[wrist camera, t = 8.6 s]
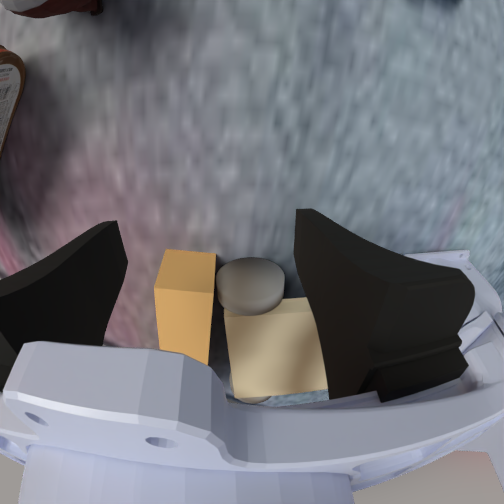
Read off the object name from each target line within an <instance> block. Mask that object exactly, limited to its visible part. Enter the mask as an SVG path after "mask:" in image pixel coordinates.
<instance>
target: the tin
mask: <svg viewBox="0 0 504 504" xmlns="http://www.w3.org/2000/svg"><path fill="white" fill-rule="evenodd" d="M24 82H25V66H24V63H23V61H22V59H21V58H20V57H19V56H18V55H16V54H15V53H13V52H11V51H9V50H7V49H6V48H5V47H4V46H2V45H0V158H1V154H2V150H3V147H4V143H5V140H6V137H7V133H8V130H9V127H10V124H11V121H12V118H13V116H14V113H15V110H16V107H17V105H18V102H19V100H20V97H21V94H22V91H23V87H24Z"/></svg>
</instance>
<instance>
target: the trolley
mask: <svg viewBox="0 0 504 504" xmlns="http://www.w3.org/2000/svg"><path fill="white" fill-rule="evenodd" d="M284 281H285V276H284V273H283V271H282V269H281V268H280V267H279V266H278V265H277V264H275V263H273V262H271V261H269V260H266V259H262V258H255V257H248V258H240V259H236V260H233V261H231V262H229V263H227V264H225V265H224V266H223V267H221V268H220V270H219V271H218V273H217V275H216V286H217V294H218V299H219V302H220V303H221V305H222V306H223V307H224V320H225V328H226V336H227V344H228V352H229V359H230V366H231V372H230V378H229V379H230V386H231V390H232V392H233V394H234V395H235V398H238V399H239V400H241V401H243V402H246V403H252V404H253V403H261V402H264V401H266V400H268V399H269V398H270V397H271V396H274V395H285V394H294V393H302V392H309V391H316V390H323V389H328V386H327V379H326V373H325V366H324V361H323V356H322V350H321V345H320V341H319V336H318V331H317V327H316V323H315V320H314V316H313V313H312V311H311V308H310V305H309V302H308V300H307V297H304V298H291V299H283V296H284Z"/></svg>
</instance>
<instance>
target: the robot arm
mask: <svg viewBox="0 0 504 504" xmlns="http://www.w3.org/2000/svg"><path fill="white" fill-rule="evenodd" d="M469 255H470V252H469V251H468V250H455V251H442V252H429V253H416V254H406V255H401V254H398V253H395V252H392V251H390V250H387V249H385V248H382V247H380V246H378V245H376V244H373V243H371V242H369V241H367V240H365V239H363V238H361V237H359V236H358V235H356V234H354V233H352V232H350V231H349V230H347V229H345V228H344V227H342V226H340V225H339V224H337V223H335V222H334V221H332V220H331V219H329V218H327V217H326V216H324V215H323V214H321V213H319V212H318V211H316V210H314V209H296V223H295V240H294V258H295V263H296V267H297V272H298V275H299V278H300V281H301V283H302V286H303V289H304V292H305V294H306V297H307V300H308V302H309V305H310V308H311V311H312V313H313V316H314V320H315V323H316V327H317V331H318V336H319V341H320V345H321V350H322V356H323V361H324V366H325V373H326V379H327V386H328V393H329V400H326V401H320V402H313V403H306V404H299V405H290V406H281V407H269V406H256V405H244V404H234V403H228V401H227V400H226V395H225V390H224V385H223V383H222V382H221V380H220V379H219V378H218V376H217V375H216V374H215V372H214V371H213V369H212V368H211V367H209V366H207V365H206V364H204V363H201V362H199V361H197V360H195V359H193V358H191V357H189V356H187V355H185V354H183V353H178V352H172V351H166V350H160V349H154V348H129V347H108V346H102V345H103V340H104V335H105V331H106V328H107V324H108V321H109V319H110V316H111V313H112V311H113V308H114V305H115V303H116V300H117V298H118V295H119V292H120V290H121V287H122V284H123V282H124V278H125V274H126V269H127V265H128V260H127V257H126V253H125V249H124V246H123V242H122V239H121V235H120V231H119V227H118V223H117V220H116V221H106V222H102V223H100V224H98V225H96V226H94V227H92V228H91V229H89V230H87V231H86V232H84V233H83V234H81V235H80V236H78V237H77V238H75V239H74V240H72V241H71V242H69V243H68V244H66V245H64V246H63V247H61V248H60V249H58V250H57V251H55V252H54V253H52V254H51V255H49V256H47V257H46V258H44V259H42V260H40V261H39V262H37V263H35V264H33V265H31V266H30V267H28V268H25V269H23V270H21V271H19V272H17V273H15V274H13V275H11V276H9V277H6V278H4V279H1V280H0V453H1V454H3V455H4V456H6V457H8V458H10V459H12V460H14V461H16V462H18V463H20V464H22V465H24V466H25V468H24V473H23V478H22V484H21V489H20V495H19V502H18V504H355V503H354V499H353V494H352V492H355V491H358V490H362V489H365V488H368V487H371V486H374V485H377V484H379V483H382V482H385V481H388V480H391V479H393V478H396V477H399V476H401V475H404V474H406V473H408V472H411V471H413V470H415V469H418V468H420V467H422V466H424V465H426V464H429V463H431V462H433V461H435V460H437V459H439V458H441V457H443V456H445V455H447V454H449V453H451V452H452V451H455V450H460V451H477V452H478V451H479V452H486V453H487V454H488V456H489V458H490V460H491V462H492V465H493V467H494V469H495V472H496V474H497V476H498V479H499V481H500V484H501V486H502V489H503V491H504V312H503V313H502V306H501V301H500V298H499V296H498V294H497V292H496V291H495V290H494V288H493V287H492V286H491V285H490V284H489V282H488V281H487V280H486V279H485V278H484V277H483V276H482V275H481V273H480V272H479V271H478V270H477V269H476V268H475V267H474V266H473V265H472V264H471V262H470V261H469V260H468V258H469Z"/></svg>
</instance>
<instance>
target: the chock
mask: <svg viewBox="0 0 504 504" xmlns="http://www.w3.org/2000/svg"><path fill="white" fill-rule="evenodd" d="M215 261H216V254H214V253H203V252H192V251H182V250H171V249H166V251H165V254H164V257H163V260H162V263H161V267H160V270H159V273H158V276H157V280H156V283H155V286H154V293H155V306H156V317H157V327H158V336H159V344H160V350H166V351H172V352H178V353H183V354H185V355H187V356H189V357H191V358H193V359H195V360H197V361H199V362H201V363H204V364H206V365H207V366H208V355H209V342H210V330H211V318H212V307H213V296H214V279H215Z"/></svg>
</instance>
